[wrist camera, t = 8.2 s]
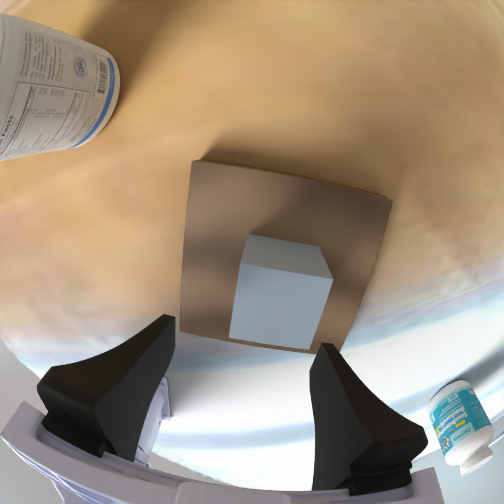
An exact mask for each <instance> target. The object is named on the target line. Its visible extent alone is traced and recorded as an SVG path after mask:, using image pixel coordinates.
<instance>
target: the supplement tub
mask: <svg viewBox="0 0 504 504" xmlns="http://www.w3.org/2000/svg"><path fill="white" fill-rule="evenodd" d="M119 90H120V73H119V69H118V66H117V63H116V61H115V59H114V58H113V57H112V55H111V54H110V53H109V52H107V51H106V50H104V49H102V48H100V47H98V46H96V45H94V44H91V43H89V42H87V41H84V40H82V39H79V38H77V37H74V36H72V35H69V34H67V33H64V32H62V31H59V30H56V29H53V28H50V27H48V26H45V25H42V24H39V23H36V22H32V21H29V20H26V19H22V18H19V17H15V16H11V15H7V14H3V13H0V161H4V160H8V159H13V158H18V157H23V156H28V155H33V154H38V153H44V152H51V151H58V150H65V149H71V148H76V147H79V146H82V145H84V144H86V143H87V142H89V141H90V140H92V139H93V138H94V137H95V136H96V135H97V134H98V133H99V132H100V131H101V130H102V129H103V128H104V126H105V125H106V123H107V122H108V120H109V119H110V117H111V115H112V113H113V111H114V108H115V106H116V103H117V100H118V96H119Z"/></svg>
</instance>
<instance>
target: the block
mask: <svg viewBox="0 0 504 504" xmlns="http://www.w3.org/2000/svg"><path fill="white" fill-rule="evenodd" d="M332 282H333V277H332V275H331V273H330V270H329V268H328V266H327V263H326V261H325V259H324V256H323V254H322V252H321V249H320V247H318V246H313V245H308V244H302V243H297V242H291V241H286V240H280V239H275V238H269V237H264V236H258V235H252V234H248V237H247V240H246V244H245V247H244V251H243V255H242V258H241V262H240V267H239V274H238V280H237V287H236V293H235V299H234V306H233V312H232V319H231V325H230V332H229V338H234V339H239V340H245V341H251V342H257V343H263V344H270V345H277V346H284V347H291V348H299V349H307V350H309V348H310V346H311V343H312V340H313V338H314V335H315V332H316V329H317V327H318V324H319V321H320V318H321V315H322V312H323V310H324V307H325V304H326V301H327V298H328V295H329V291H330V288H331V285H332Z"/></svg>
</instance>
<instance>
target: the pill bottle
mask: <svg viewBox="0 0 504 504" xmlns="http://www.w3.org/2000/svg"><path fill="white" fill-rule="evenodd" d="M427 411H428V414H429V417H430V419H431V422H432V425H433V427H434V430H435V432H436V435H437V438H438V440H439V443H440V446H441V449H442V452H443V454H444V457H445V460H446V462H447V463H448V464H449V465H458V464H459V465H460V472H461V475H462V476H464V475H466V474H469V473H471V472H473V471H474V470H476V469H478V468H479V467H480V466H482V465H483V464H485V463H486V462H487V461H489V460H490V459H491V458H492V456H493V453H492V450H491V449H490V448H488V445H489V443H490V442H491V441H492V439H493V436H494V430H493V427H492V425H491V423H490V421H489V419H488V417H487V415H486V413H485V411H484V409H483V407H482V405H481V404H480V402H479V400H478V398H477V396H476V394H475V392H474V391H473V389H472V387H471V385H470V384H469V382H467V381H465V380H459V381H455V382H453V383H451V384H449V385H447V386H446V387H444V388H443V389H441V390H440V391H439V392H438V393H437V394H436V395H435V396H434V397H433V398H432V399H431V401H430V402H429V404H428V408H427Z"/></svg>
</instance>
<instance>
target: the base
mask: <svg viewBox="0 0 504 504" xmlns="http://www.w3.org/2000/svg"><path fill="white" fill-rule="evenodd" d="M392 202H393V201H392V200H390V199H388V198H386V197H384V196H382V195H378V194H375V193H371V192H367V191H363V190H360V189H356V188H352V187H348V186H343V185H339V184H335V183H331V182H326V181H322V180H317V179H313V178H308V177H303V176H298V175H293V174H288V173H283V172H278V171H272V170H267V169H261V168H255V167H249V166H242V165H236V164H229V163H222V162H214V161H207V160H195V161H192V166H191V174H190V182H189V191H188V201H187V211H186V222H185V233H184V246H183V261H182V279H181V302H180V331H181V332H185V333H190V334H194V335H199V336H203V337H208V338H213V339H218V340H223V341H229V342H234V343H240V344H246V345H252V346H258V347H264V348H271V349H278V350H285V351H292V352H301V353H309V354H317V352H318V350H319V347H320V345H321V342H323V343H332V344H334V346H335V347H336V348H337V350H338V351H339V352H340V350H341V348H342V346H343V344H344V341H345V339H346V337H347V334H348V332H349V330H350V327H351V325H352V323H353V320H354V318H355V315H356V313H357V310H358V308H359V305H360V303H361V300H362V297H363V295H364V292H365V289H366V287H367V284H368V281H369V278H370V275H371V273H372V270H373V267H374V264H375V261H376V258H377V255H378V251H379V248H380V245H381V242H382V238H383V235H384V232H385V228H386V225H387V221H388V218H389V214H390V210H391V206H392ZM248 234H252V235H258V236H264V237H269V238H275V239H280V240H286V241H291V242H297V243H302V244H308V245H313V246H318V247H320V249H321V252H322V254H323V256H324V259H325V261H326V263H327V266H328V268H329V270H330V273H331V275H332V277H333V282H332V285H331V288H330V291H329V295H328V298H327V301H326V304H325V307H324V310H323V312H322V315H321V318H320V321H319V324H318V327H317V329H316V332H315V335H314V338H313V340H312V343H311V346H310V348H309V350H307V349H299V348H291V347H284V346H277V345H270V344H263V343H257V342H251V341H245V340H239V339H234V338H229V332H230V325H231V319H232V312H233V306H234V299H235V293H236V287H237V280H238V274H239V267H240V262H241V258H242V255H243V251H244V247H245V244H246V240H247V237H248Z"/></svg>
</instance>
